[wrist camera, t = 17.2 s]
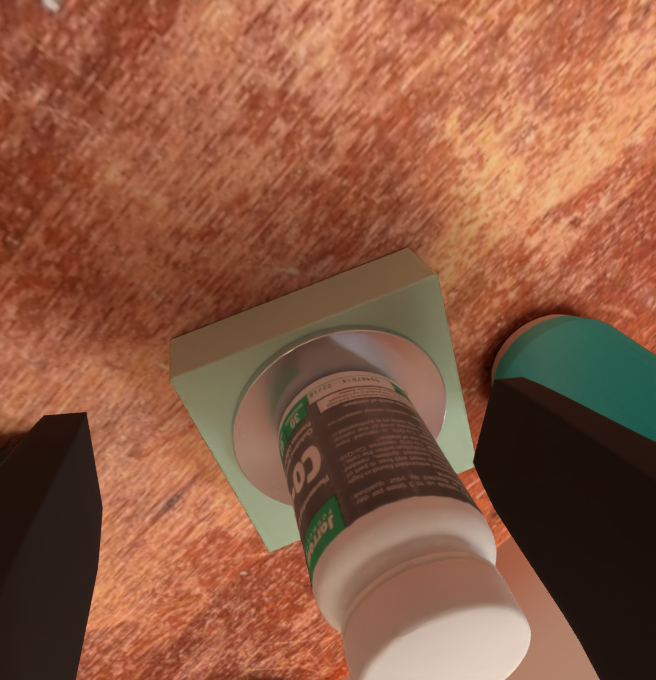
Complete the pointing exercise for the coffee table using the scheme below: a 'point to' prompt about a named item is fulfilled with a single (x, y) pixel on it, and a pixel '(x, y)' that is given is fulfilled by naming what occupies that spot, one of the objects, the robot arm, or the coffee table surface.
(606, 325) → the beverage can
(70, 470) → the robot arm
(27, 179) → the coffee table surface
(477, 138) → the coffee table surface
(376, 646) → the pill bottle
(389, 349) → the scale
